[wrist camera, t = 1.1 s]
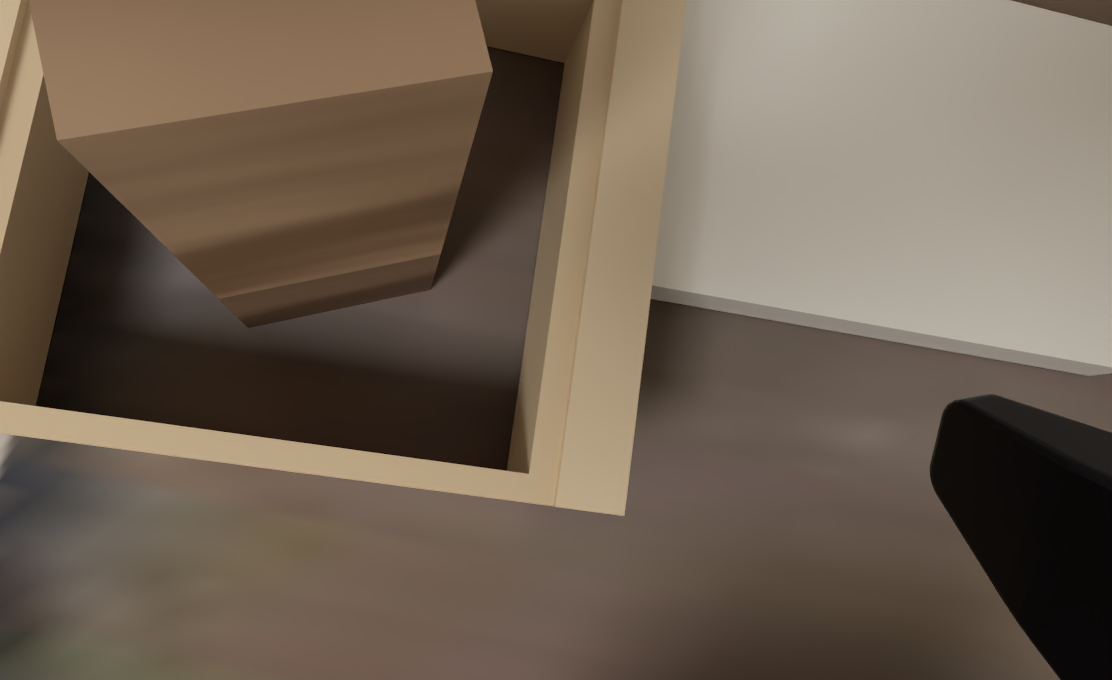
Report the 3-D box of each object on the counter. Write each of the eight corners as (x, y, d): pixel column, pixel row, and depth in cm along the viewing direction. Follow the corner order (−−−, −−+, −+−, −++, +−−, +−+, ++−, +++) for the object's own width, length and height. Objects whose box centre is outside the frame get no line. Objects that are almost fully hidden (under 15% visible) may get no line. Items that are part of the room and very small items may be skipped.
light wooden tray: (584, 506, 22) (624, 515, 19) (-72, 419, 20) (-175, 410, 16) (641, 59, 24) (688, -13, 21) (50, -74, 22) (-18, -182, 18)
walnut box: (430, 289, 22) (492, 71, 10) (248, 328, 22) (56, 140, 9) (390, 121, 23) (401, -298, 10) (209, 151, 22) (-28, -270, 9)
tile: (1088, 376, 26) (1130, 371, 24) (626, 294, 23) (642, 283, 22) (1101, 56, 27) (1141, 33, 26) (669, -50, 25) (687, -82, 24)
